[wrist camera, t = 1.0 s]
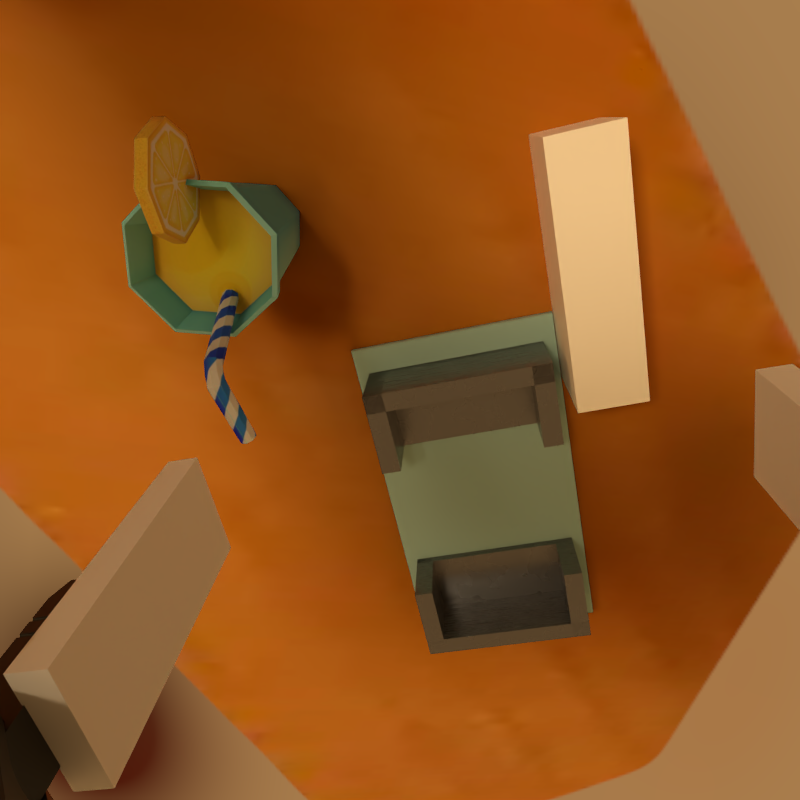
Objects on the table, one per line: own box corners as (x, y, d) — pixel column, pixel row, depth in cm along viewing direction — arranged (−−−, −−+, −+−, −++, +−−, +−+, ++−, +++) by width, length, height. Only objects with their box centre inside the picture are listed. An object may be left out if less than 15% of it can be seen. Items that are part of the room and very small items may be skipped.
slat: (528, 134, 37) (542, 137, 31) (599, 117, 36) (627, 117, 31) (560, 375, 42) (578, 413, 37) (623, 363, 42) (650, 400, 36)
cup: (363, 324, 42) (323, 426, 28) (255, 359, 43) (166, 472, 29) (278, 99, 37) (178, 89, 23) (159, 147, 38) (-2, 163, 24)
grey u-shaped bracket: (369, 373, 43) (362, 397, 39) (543, 340, 41) (552, 362, 37) (387, 444, 45) (382, 474, 41) (553, 416, 43) (564, 444, 39)
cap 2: (579, 596, 49) (590, 634, 45) (431, 615, 50) (430, 653, 47) (571, 537, 47) (582, 573, 43) (417, 559, 48) (415, 595, 45)
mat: (352, 349, 42) (351, 351, 42) (551, 311, 41) (552, 313, 40) (426, 629, 51) (426, 633, 51) (591, 608, 50) (593, 612, 49)
